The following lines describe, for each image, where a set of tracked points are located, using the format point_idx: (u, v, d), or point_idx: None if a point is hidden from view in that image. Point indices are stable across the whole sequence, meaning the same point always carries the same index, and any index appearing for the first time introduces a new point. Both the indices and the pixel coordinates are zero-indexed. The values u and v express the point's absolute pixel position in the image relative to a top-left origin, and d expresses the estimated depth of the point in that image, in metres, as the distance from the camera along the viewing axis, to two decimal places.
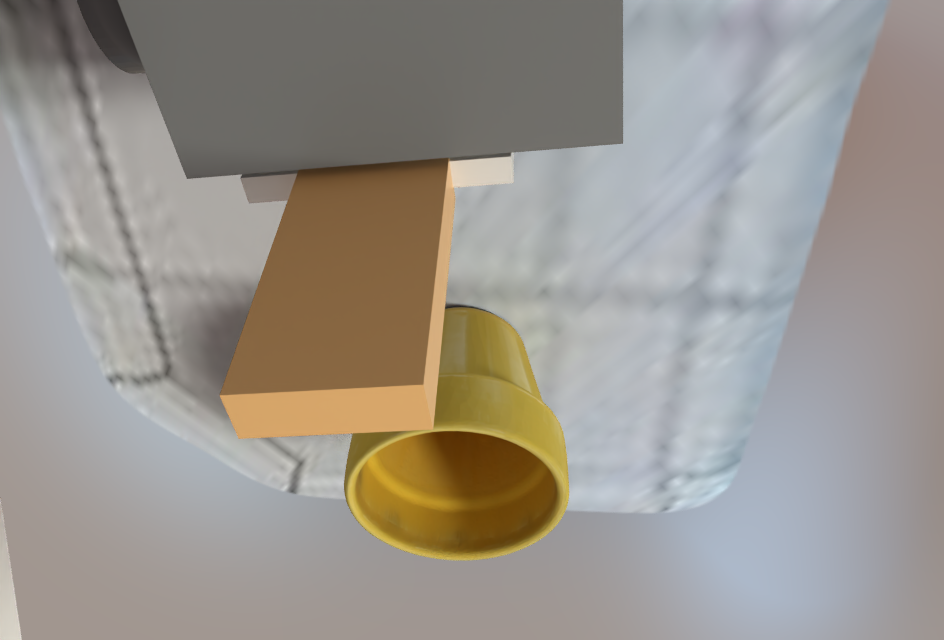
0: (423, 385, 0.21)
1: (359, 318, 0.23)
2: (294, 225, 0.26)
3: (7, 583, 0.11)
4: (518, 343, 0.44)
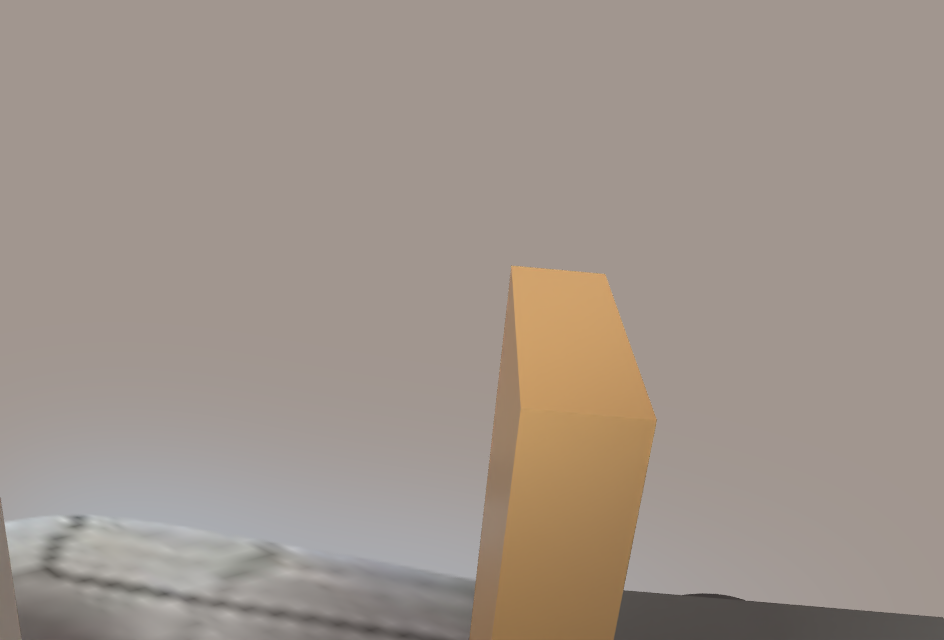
0: (652, 421, 0.10)
1: None
2: None
3: (7, 583, 0.11)
4: None
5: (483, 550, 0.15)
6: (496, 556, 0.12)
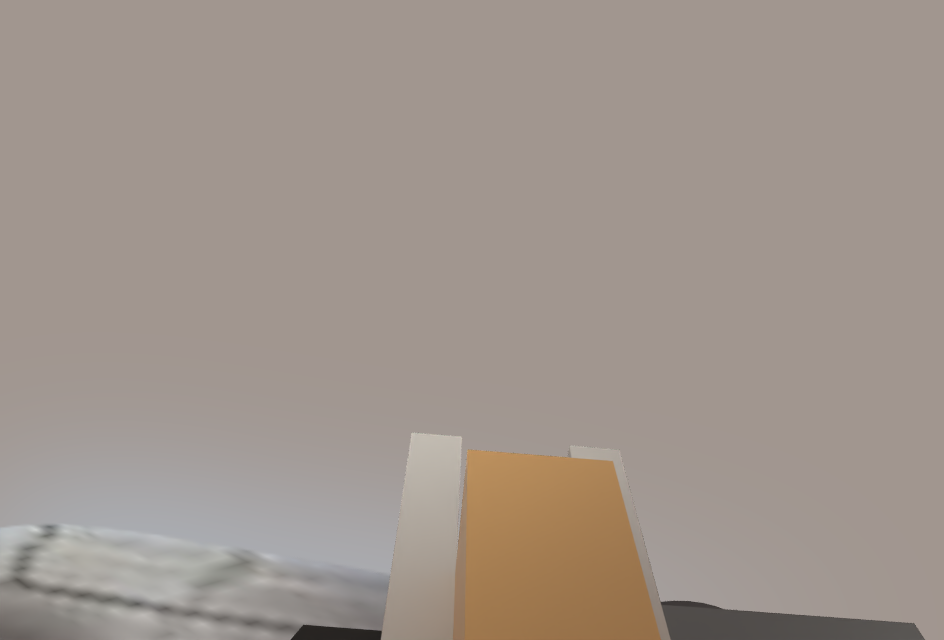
0: None
1: None
2: None
3: None
4: None
5: None
6: None
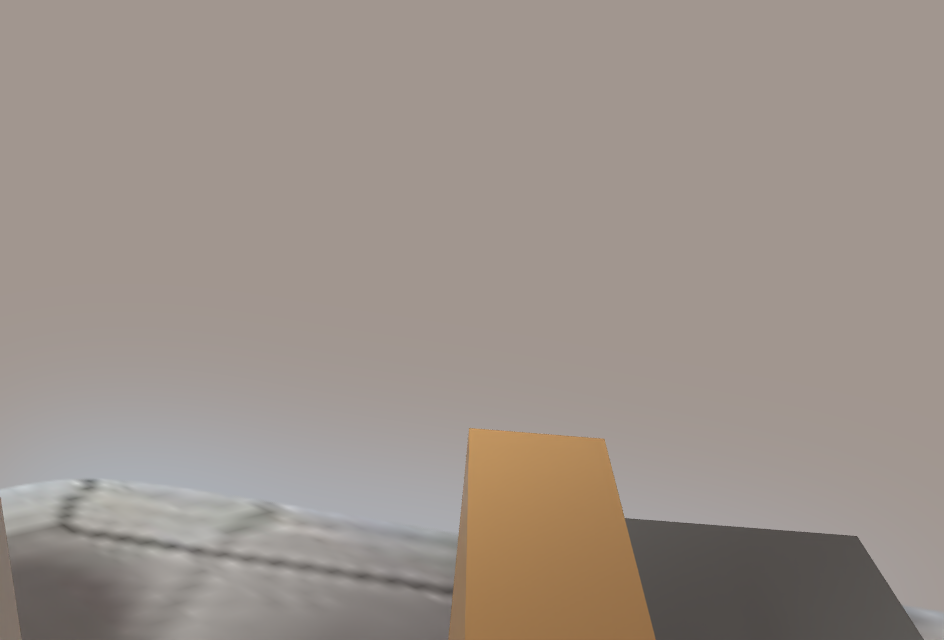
0: None
1: None
2: None
3: (7, 583, 0.11)
4: None
5: None
6: None
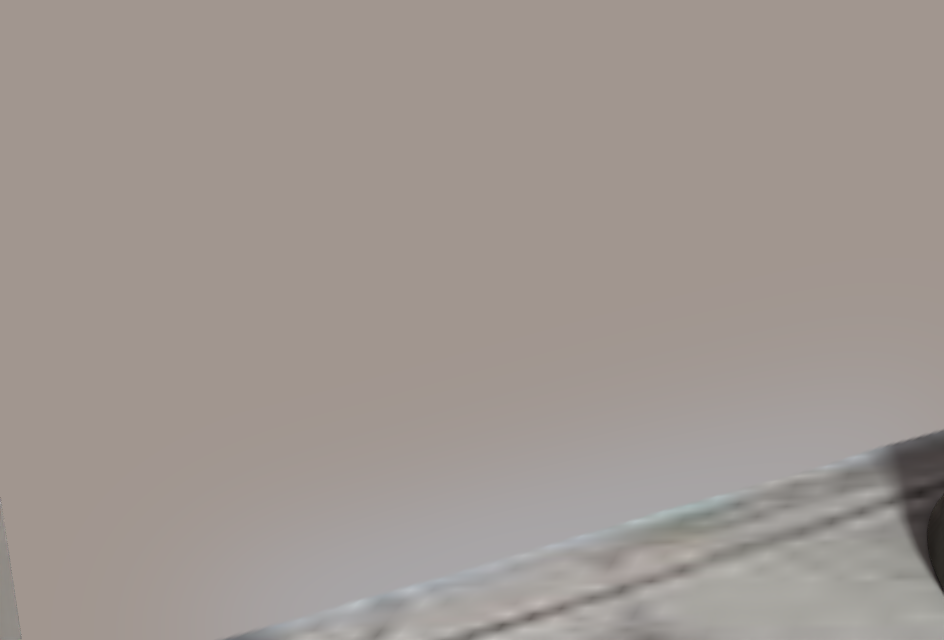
0: None
1: None
2: None
3: (7, 583, 0.11)
4: None
5: None
6: None
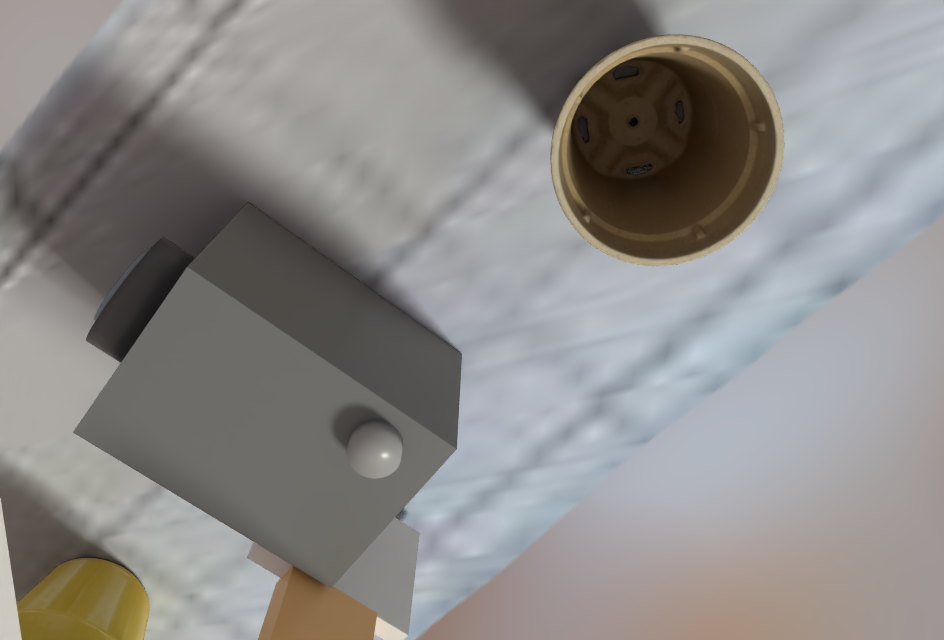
0: None
1: None
2: (289, 614, 0.40)
3: (7, 583, 0.11)
4: (146, 622, 0.54)
5: None
6: None
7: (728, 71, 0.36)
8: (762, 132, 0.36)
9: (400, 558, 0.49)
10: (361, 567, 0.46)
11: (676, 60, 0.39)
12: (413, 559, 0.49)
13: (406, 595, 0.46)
